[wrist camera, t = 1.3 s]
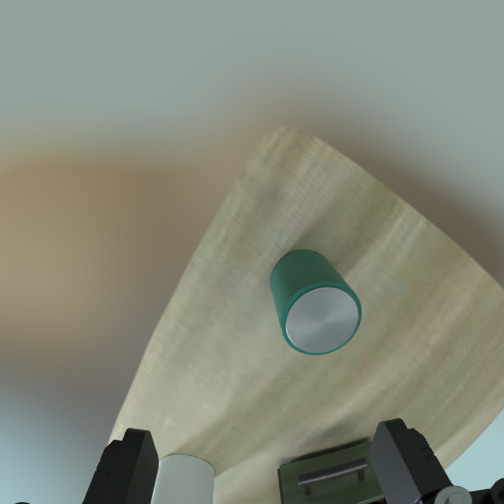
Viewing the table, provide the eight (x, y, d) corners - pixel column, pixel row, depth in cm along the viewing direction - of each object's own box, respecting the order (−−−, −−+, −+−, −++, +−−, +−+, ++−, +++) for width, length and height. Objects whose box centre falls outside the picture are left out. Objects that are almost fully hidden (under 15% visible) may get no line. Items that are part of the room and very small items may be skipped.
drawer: (272, 445, 30) (278, 505, 22) (371, 419, 29) (395, 473, 21) (295, 506, 34) (302, 549, 26) (369, 487, 34) (383, 527, 26)
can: (276, 245, 24) (290, 276, 18) (339, 254, 25) (372, 287, 18) (265, 305, 26) (273, 353, 19) (324, 312, 26) (349, 359, 19)
